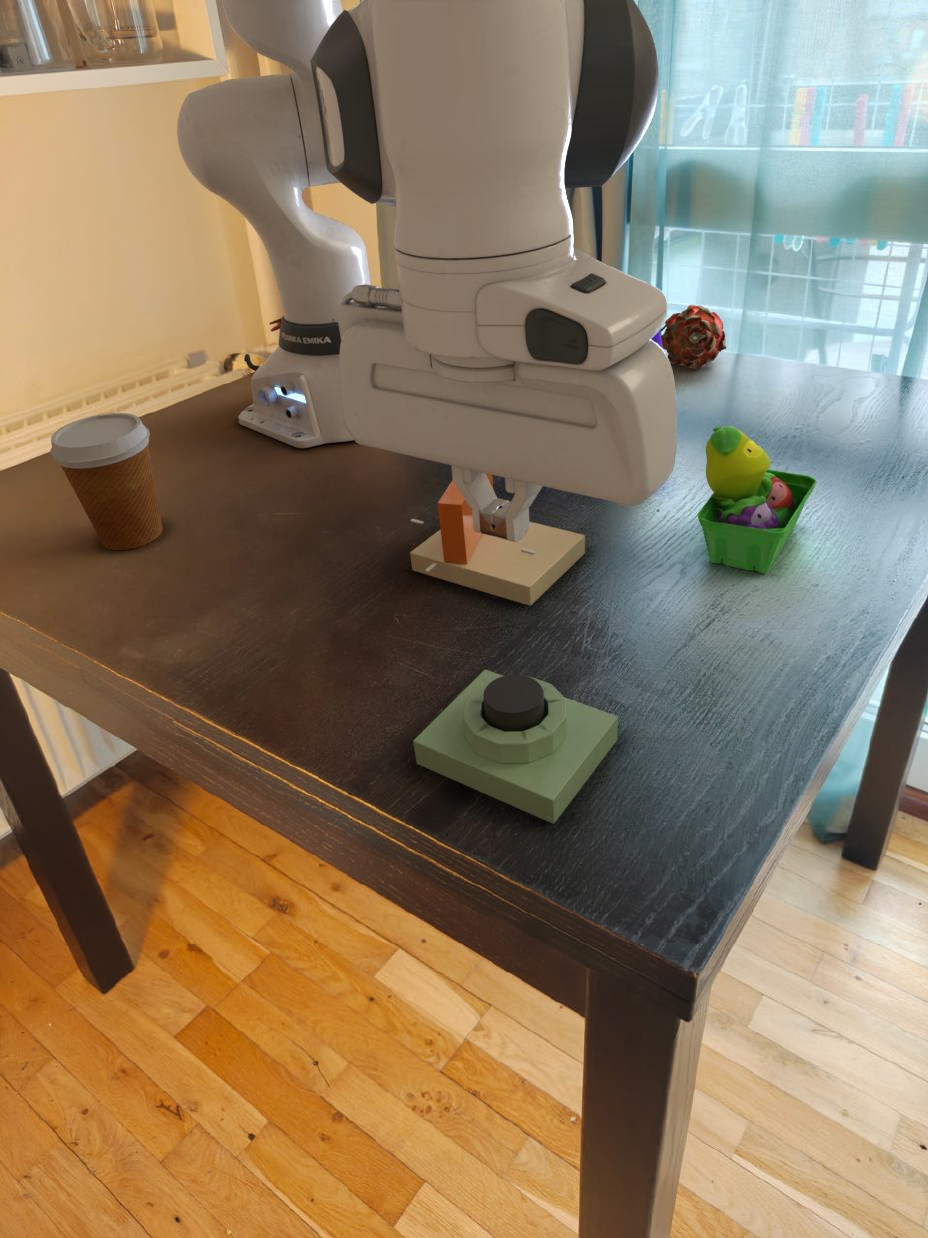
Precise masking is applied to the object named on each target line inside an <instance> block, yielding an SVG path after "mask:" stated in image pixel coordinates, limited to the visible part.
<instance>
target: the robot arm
mask: <svg viewBox="0 0 928 1238" xmlns="http://www.w3.org/2000/svg"><path fill="white" fill-rule="evenodd" d="M221 5H222V10H223V14H224V17H225V19H226V21H227V23H228V25H229V27H230V28H231V29H232V32H233V33H234V34H235V35H236V36H237V38H239V39H240V40H241V41H242V42H243V44H245V45H246V46H247V47H249V48H250V49H251V50H253V51H254V52H255V53H257V54H259V55H261V56H263V57H265V58H268V59H269V60H272V61H275V62H277V63H279V64H282V65H284V66H285V67H287V68H288V69H290V70H291V71H289V72H285V73H278V74H277V73H276V74H268V75H267V74H266V75H260V76H249V77H240V78H231V79H226V80H222V81H220V82H216V83H214V84H210V85H208V86H205V87H202V88H200V89H197V90H194V91H192V92H189V93H188V94H187V95H186V97H185V98H184V99H183V102H182V104H181V107H180V109H179V112H178V117H177V125H176V135H177V143H178V144H177V145H178V149H179V151H180V154H181V157H182V160H183V162H184V164H185V165H186V168H187V169H188V170H189V172H190V173H191V175H192V176H193V177H194V179H196V181H197V182H198V183H199V184H200V185H202V186H203V187H204V188H205V189H206V190H207V191H209V192H211V193H213V194H214V195H215V196H218V197H219V198H221V199H222V200H224V201H226V202H227V203H228V204H229V205H230V206H231V207H233V208H234V209H236V211H238V212H239V213H240V214H241V215H242V216H243V217H244V218H245V219H246V220H247V222H248V223H249V225H250V226H252V228H253V230H254V231H255V233H256V234H257V235H258V237H259V239H260V240H261V242H262V244H263V246H264V249H265V251H266V253H267V256H268V258H269V259H268V260H269V261H270V265H271V269H272V272H273V276H274V279H275V283H276V286H277V291H278V295H279V300H280V304H281V310H282V316H281V317H280V318H278V319H275V320H273V321H269V323H268V325H274V324H276V325H274V326H273V327H272V328H271V329H270V332H271V333H273V332H275V331H278V330H279V334H278V342H277V343H278V346H277V347H276V349H275V350H274V351H272V353H271V354H270V355H269V356H268V357H267V358H266V360H265V361H264V362H263V363H262V364H261V365H256V364H254V363H253V362H252V358H251V356H250V354H249V353H246V354H245V355H244V359H243V361H244V362H245V364H246V365H247V367H248V368H249V370H251V371H254V373H253V374H252V377H251V381H250V390H251V398H252V404H250V405H249V406H247V407H246V408H244V409H243V410H242V411H241V412H240V413H239V415H238V418H237V419H238V424H239V425H241V426H244V427H245V428H248V429H250V430H252V431H256V432H257V433H260V434H262V435H265V436H266V437H270V438H272V439H275V440H276V441H279V442H282V443H284V444H287V445H289V446H292V447H294V448H296V449H307V448H313V447H317V446H320V445H324V444H332V443H344V442H351V441H355V443H356V444H358V445H359V446H364V447H368V448H371V449H372V448H373V449H378V450H380V451H381V450H382V451H387V452H390V453H395V454H399V455H402V456H403V455H404V456H408V457H413V458H417V459H422V460H425V461H430V462H434V463H439V464H443V465H448V466H450V467H451V468H450V469H451V477H452V480H453V481H454V483H455V484H456V486H457V488H458V489H459V491H460V492H461V494H462V496H463V497H464V499H465V500H466V502H467V504H468V505H469V507H470V508H472V517H473V527H474V531H475V532H479V533H482V534H486V535H490V536H494V537H499V538H502V539H506V540H509V541H513V542H519V541H520V540H521V539H522V538H523V537H524V536H526V535H527V533H528V530H529V522H530V507H531V506H532V505H533V503H534V501H535V500H536V498H537V497H538V495H539V493H540V491H541V490H542V488H543V487H545V488H549V489H554V490H558V491H563V492H567V493H571V494H576V495H580V496H584V497H589V498H593V499H597V500H598V499H599V500H603V501H606V502H611V503H616V504H618V505H619V504H620V505H624V506H629V507H636V506H639V505H640V504H643V502H645V501H646V500H648V499H649V498H650V497H651V496H653V495H654V493H656V492H657V491H658V490H659V489H660V488H661V487H663V485H664V484H665V482H667V480H668V479H669V478H670V477H671V475H672V473H673V471H674V468H675V465H676V457H677V445H678V443H677V439H678V437H677V435H678V420H677V419H678V417H677V396H676V384H675V376H674V372H673V367H672V365H671V364H672V363H671V362H670V361H669V359H668V357H667V356H668V354H667V353H666V351H665V350H664V349H662V348H661V347H660V346H659V345H658V344H656V343H655V342H654V341H652V340H651V339H652V338H653V337H654V336H655V335H656V334H657V333H658V332H659V331H660V330H661V329H662V327H664V326H665V321H666V320H667V312H668V311H667V309H668V301H667V297H666V295H665V293H663V291H662V290H660V289H659V288H658V287H656V286H655V285H652V284H651V283H648V282H646V281H643V280H641V279H639V278H637V277H634V276H632V275H630V274H627V273H626V272H623V271H621V270H619V269H617V268H614V267H613V266H610V265H608V264H606V263H604V262H602V261H600V260H598V259H596V258H595V257H592V256H591V255H588V254H587V253H585V252H583V251H582V250H579V249H577V248H575V247H574V224H573V216H572V212H571V209H570V205H569V201H568V199H567V194H566V193H567V192H566V189H578V188H580V189H581V188H596V187H597V188H598V187H601V186H603V185H605V184H606V183H607V182H608V181H609V180H610V179H611V178H612V177H613V176H614V175H615V174H616V173H617V172H618V171H619V170H620V168H622V166H623V165H624V164H625V163H626V161H628V159H629V158H630V157H631V156H632V154H633V153H634V151H635V150H636V148H637V147H638V145H639V144H640V142H641V141H642V139H643V138H644V136H645V133H646V132H647V130H648V128H649V126H650V123H651V122H652V119H653V117H654V113H655V110H656V107H657V102H658V95H659V84H660V83H659V80H660V79H659V78H660V77H659V62H658V55H657V48H656V45H655V44H656V43H655V41H654V37H653V35H652V32H651V29H650V27H649V25H648V23H647V21H646V18H645V17H644V15H643V14H642V11H641V9H640V7H639V6H638V5H637V3H636V1H635V0H360V2H359V3H358V4H357V5H356V6H355V7H353V8H350V9H348V10H346V9H344V8H343V4H342V0H221ZM335 184H342V186H344V187H345V188H347V189H348V190H349V191H350V192H352V193H353V194H355V195H356V196H358V198H360V199H362V200H364V201H366V202H367V203H369V204H370V205H373V204H374V205H375V204H377V205H383V206H388V207H396V210H395V211H396V215H395V224H394V233H393V234H394V235H393V248H394V249H393V250H394V257H395V258H394V259H395V265H396V266H395V267H396V275H397V282H398V283H397V284H398V287H377V286H376V285H373V284H372V281H371V273H370V268H369V259H368V253H367V248H366V244H365V242H364V240H363V239H362V237H361V236H360V234H359V233H358V232H357V231H356V230H355V229H354V228H352V227H351V226H349V225H348V224H345V223H344V222H341V221H339V220H337V219H334V218H332V217H329V216H326V215H323V214H320V213H318V212H316V211H314V210H312V209H311V208H310V207H309V206H307V204H306V203H305V202H304V199H303V195H302V193H303V191H304V190H305V189H309V188H311V187H312V188H313V187H318V186H319V187H320V186H328V185H335ZM663 350H664V351H663ZM486 473H487V474H492V476H497V477H501V478H504V485H505V491H506V493H508V494H514V495H513V497H512V499H511V500H507V499H504V498H503V499H502V498H499V497H498V496H497V494H496V492H495V490H494V487H493V488H492V486H491V484H490V482H489V480H488V478H487V475H486Z"/></svg>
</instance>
